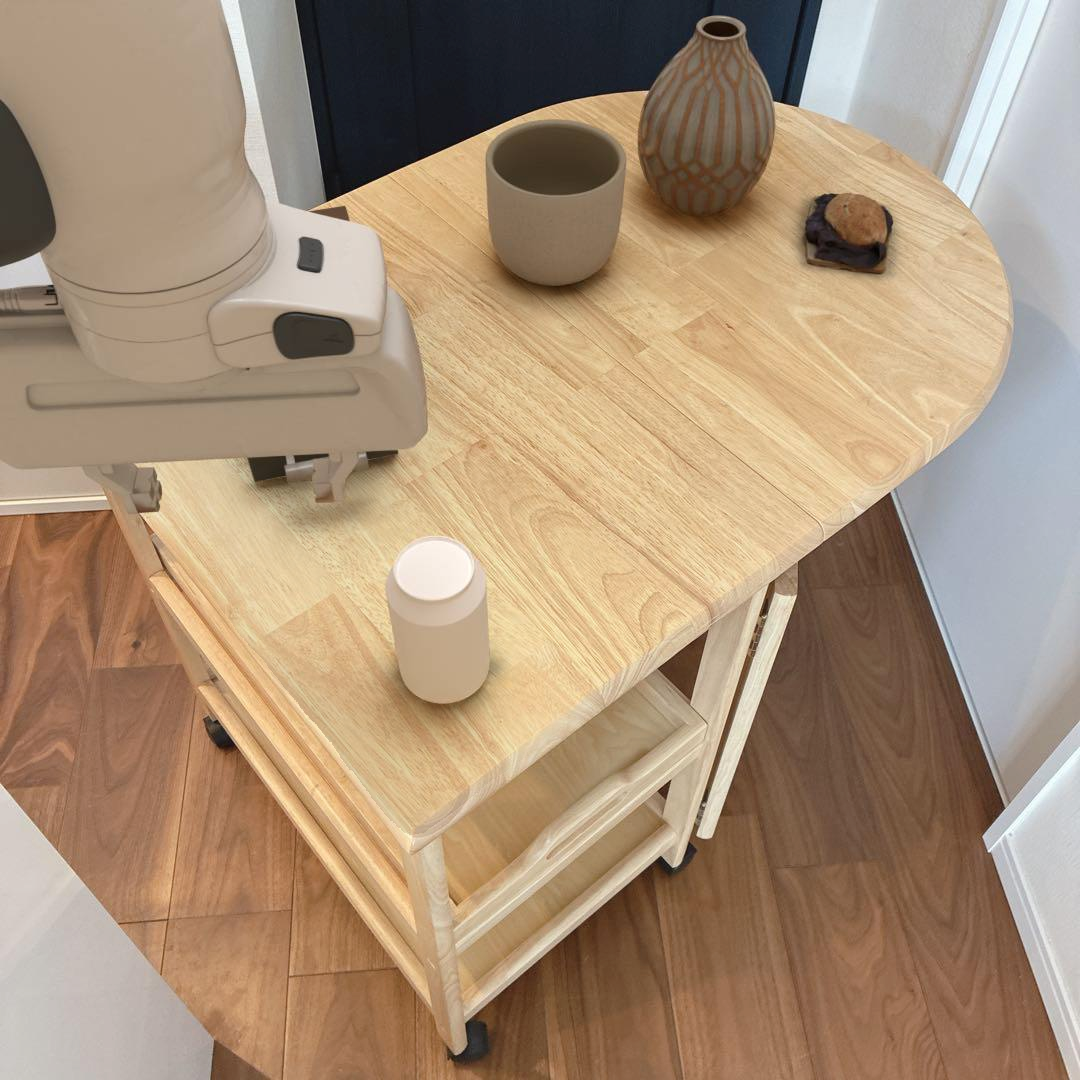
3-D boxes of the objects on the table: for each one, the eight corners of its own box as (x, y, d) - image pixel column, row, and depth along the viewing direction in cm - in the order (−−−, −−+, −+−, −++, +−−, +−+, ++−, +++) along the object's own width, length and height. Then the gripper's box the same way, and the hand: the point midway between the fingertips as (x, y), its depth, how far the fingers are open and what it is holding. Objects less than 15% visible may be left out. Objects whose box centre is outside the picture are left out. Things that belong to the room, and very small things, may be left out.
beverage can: (448, 617, 76) (437, 510, 66) (509, 669, 73) (506, 566, 64) (382, 670, 73) (360, 567, 64) (443, 727, 70) (430, 627, 61)
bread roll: (807, 201, 108) (814, 168, 105) (891, 212, 107) (901, 180, 104) (799, 263, 102) (807, 231, 99) (888, 276, 100) (899, 244, 98)
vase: (625, 162, 112) (640, -7, 98) (748, 159, 112) (779, -9, 99) (639, 238, 104) (657, 65, 90) (771, 234, 104) (809, 62, 91)
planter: (642, 276, 100) (653, 174, 91) (526, 316, 96) (526, 213, 88) (577, 207, 107) (582, 105, 98) (466, 242, 103) (461, 139, 94)
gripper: (-109, 344, 41) (20, 558, 52) (417, 322, 43) (435, 534, 54) (-67, 245, 45) (45, 464, 56) (414, 228, 47) (432, 444, 58)
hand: (239, 498), depth 55 cm, fingers open, 8 cm apart
